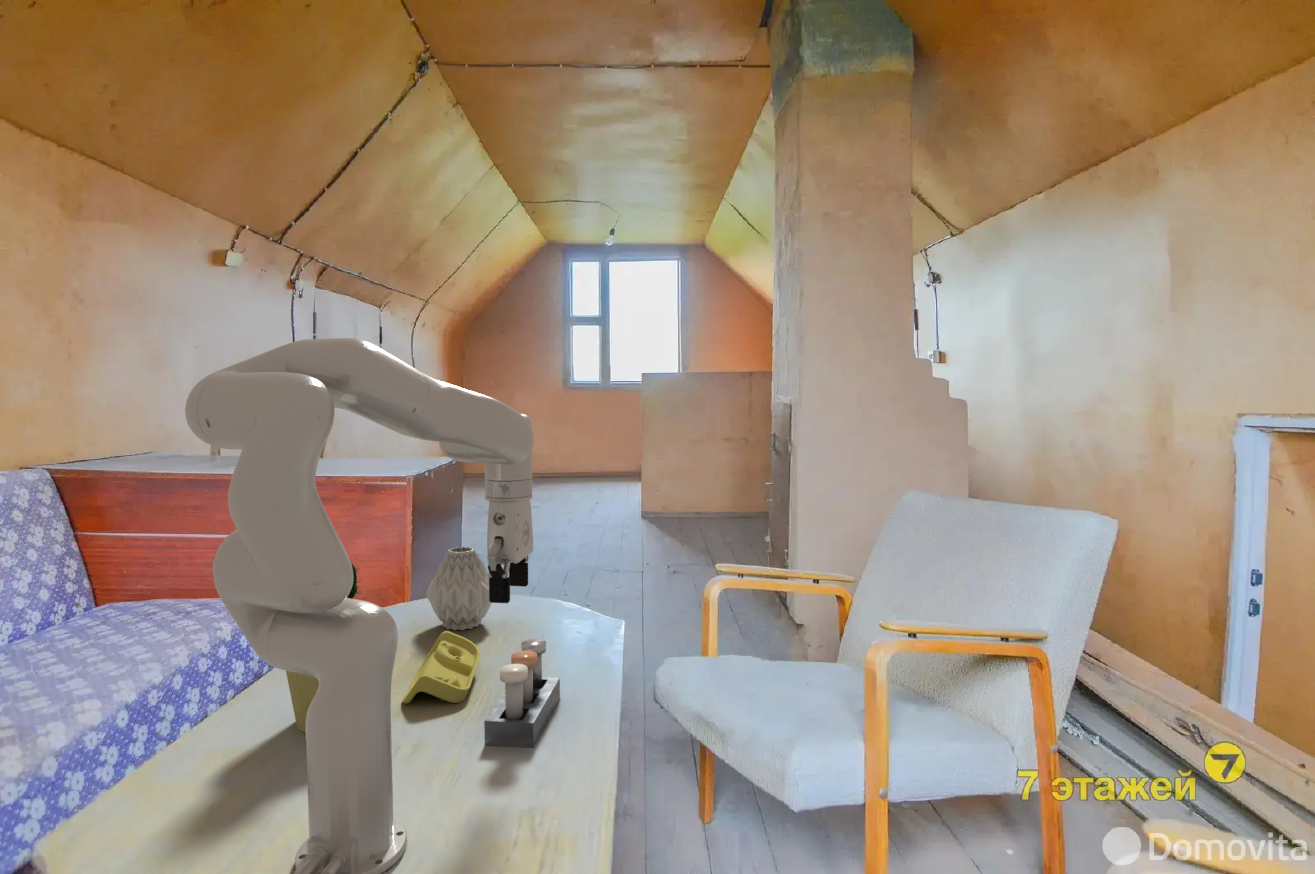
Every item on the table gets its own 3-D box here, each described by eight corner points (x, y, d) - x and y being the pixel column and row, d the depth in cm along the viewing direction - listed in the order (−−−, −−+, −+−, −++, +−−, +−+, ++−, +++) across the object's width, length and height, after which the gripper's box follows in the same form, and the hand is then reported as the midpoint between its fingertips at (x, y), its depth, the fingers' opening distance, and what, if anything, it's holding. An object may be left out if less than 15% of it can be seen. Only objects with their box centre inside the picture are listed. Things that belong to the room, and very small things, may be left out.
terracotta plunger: (533, 709, 122) (533, 660, 121) (508, 708, 122) (507, 659, 122) (540, 698, 126) (540, 651, 126) (515, 697, 127) (515, 650, 126)
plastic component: (468, 692, 130) (415, 671, 129) (451, 727, 131) (398, 707, 130) (483, 645, 150) (438, 626, 148) (468, 676, 151) (423, 658, 149)
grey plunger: (542, 694, 128) (542, 647, 127) (518, 693, 128) (518, 646, 128) (549, 684, 132) (548, 639, 132) (525, 683, 133) (525, 638, 132)
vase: (510, 621, 177) (510, 546, 175) (459, 641, 163) (458, 560, 162) (464, 610, 185) (462, 539, 184) (411, 628, 171) (410, 551, 170)
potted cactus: (286, 749, 114) (279, 562, 112) (280, 711, 128) (274, 543, 125) (388, 726, 122) (384, 551, 120) (372, 693, 135) (368, 534, 133)
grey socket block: (533, 747, 115) (533, 723, 115) (484, 744, 116) (484, 720, 116) (559, 699, 133) (559, 677, 133) (517, 697, 134) (517, 675, 134)
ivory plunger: (523, 726, 116) (523, 674, 115) (497, 724, 116) (496, 673, 116) (531, 713, 120) (530, 664, 120) (505, 712, 121) (504, 663, 120)
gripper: (514, 498, 108) (515, 610, 109) (545, 483, 125) (546, 580, 126) (466, 497, 109) (467, 608, 110) (503, 482, 126) (504, 579, 127)
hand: (509, 593), depth 118 cm, fingers open, 9 cm apart
